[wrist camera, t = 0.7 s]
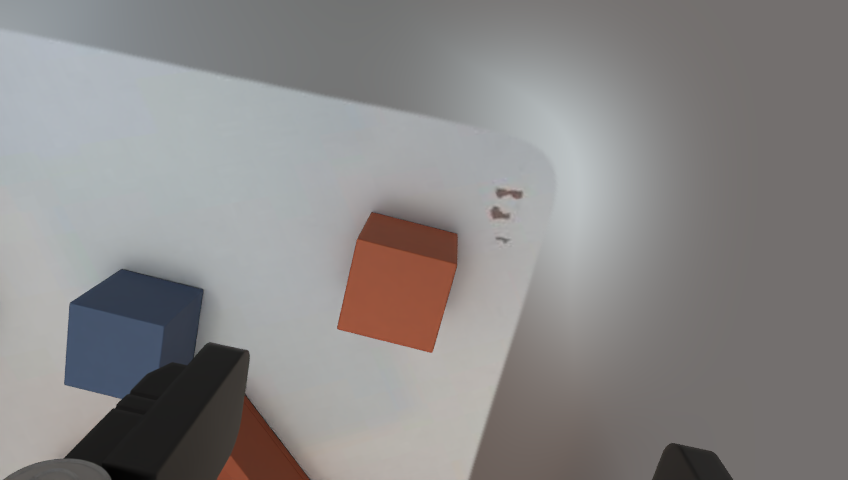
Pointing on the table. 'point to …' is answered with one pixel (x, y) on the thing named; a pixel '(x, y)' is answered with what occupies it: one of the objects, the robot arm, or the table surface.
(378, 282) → the terracotta block
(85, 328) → the slate block
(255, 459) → the terracotta bin
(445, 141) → the table surface
